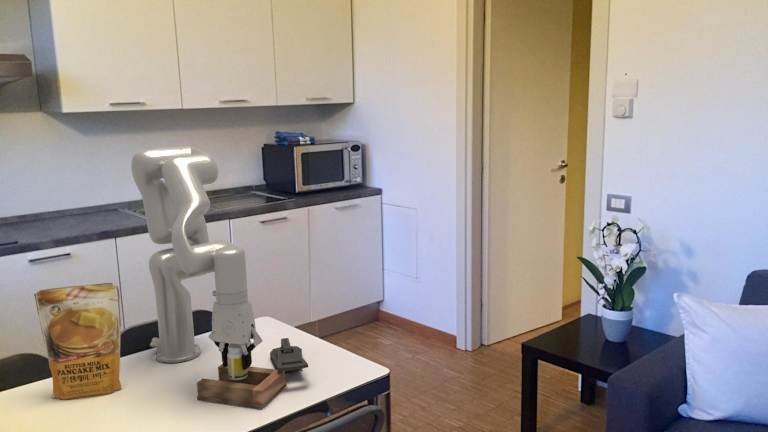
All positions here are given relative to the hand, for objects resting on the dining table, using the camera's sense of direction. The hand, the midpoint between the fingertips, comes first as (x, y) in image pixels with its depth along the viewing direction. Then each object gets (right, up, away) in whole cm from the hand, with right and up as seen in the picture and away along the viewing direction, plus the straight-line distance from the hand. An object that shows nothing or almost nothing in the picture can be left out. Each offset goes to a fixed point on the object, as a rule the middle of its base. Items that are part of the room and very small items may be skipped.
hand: (237, 365), depth 164 cm
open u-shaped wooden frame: (+1, -7, +1) cm, 7 cm away
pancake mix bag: (-39, -8, +4) cm, 40 cm away
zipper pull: (+11, -5, +14) cm, 18 cm away
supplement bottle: (0, -3, +1) cm, 3 cm away
